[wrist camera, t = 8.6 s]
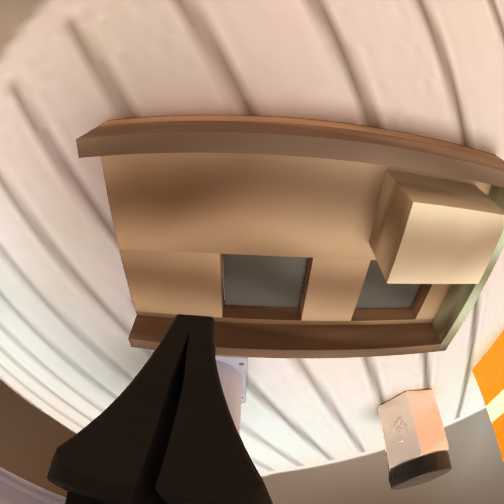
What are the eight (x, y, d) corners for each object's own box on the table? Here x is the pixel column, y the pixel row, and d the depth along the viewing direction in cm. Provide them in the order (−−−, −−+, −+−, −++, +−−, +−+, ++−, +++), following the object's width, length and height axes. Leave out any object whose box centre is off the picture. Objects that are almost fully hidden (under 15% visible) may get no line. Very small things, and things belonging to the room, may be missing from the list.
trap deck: (430, 317, 26) (445, 350, 23) (143, 310, 26) (131, 346, 23) (495, 155, 17) (529, 178, 13) (108, 120, 17) (76, 139, 13)
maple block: (453, 247, 20) (478, 283, 16) (368, 242, 20) (386, 283, 16) (475, 185, 17) (508, 215, 13) (385, 170, 17) (413, 202, 13)
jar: (419, 381, 33) (441, 466, 23) (442, 394, 36) (462, 466, 26) (363, 412, 37) (375, 491, 27) (392, 421, 40) (405, 490, 30)
